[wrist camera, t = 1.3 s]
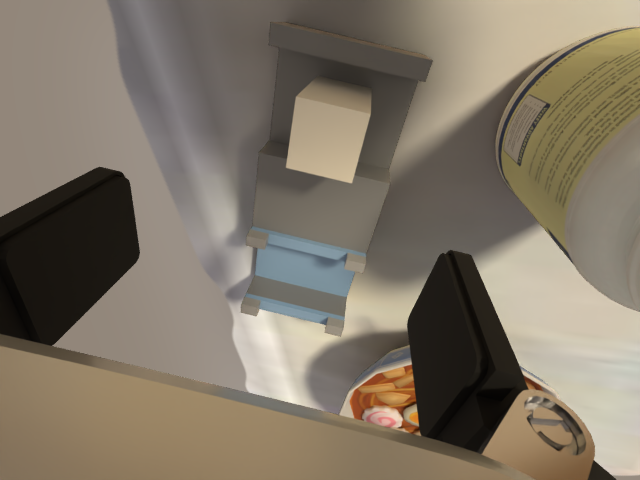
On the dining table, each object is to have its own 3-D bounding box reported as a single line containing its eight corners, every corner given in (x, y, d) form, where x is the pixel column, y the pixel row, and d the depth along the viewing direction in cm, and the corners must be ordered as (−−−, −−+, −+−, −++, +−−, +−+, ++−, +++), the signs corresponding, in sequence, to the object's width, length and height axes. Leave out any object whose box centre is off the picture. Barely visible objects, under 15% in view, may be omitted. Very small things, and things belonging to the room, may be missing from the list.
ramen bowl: (301, 349, 43) (287, 411, 36) (459, 258, 32) (482, 321, 25) (420, 437, 50) (427, 502, 43) (580, 387, 39) (623, 463, 33)
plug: (317, 75, 24) (295, 96, 17) (371, 88, 24) (370, 114, 17) (308, 130, 26) (285, 167, 19) (357, 142, 26) (351, 183, 19)
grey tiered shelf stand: (285, 22, 23) (263, 22, 19) (424, 55, 23) (436, 62, 18) (257, 276, 37) (240, 312, 32) (344, 297, 37) (340, 336, 32)
